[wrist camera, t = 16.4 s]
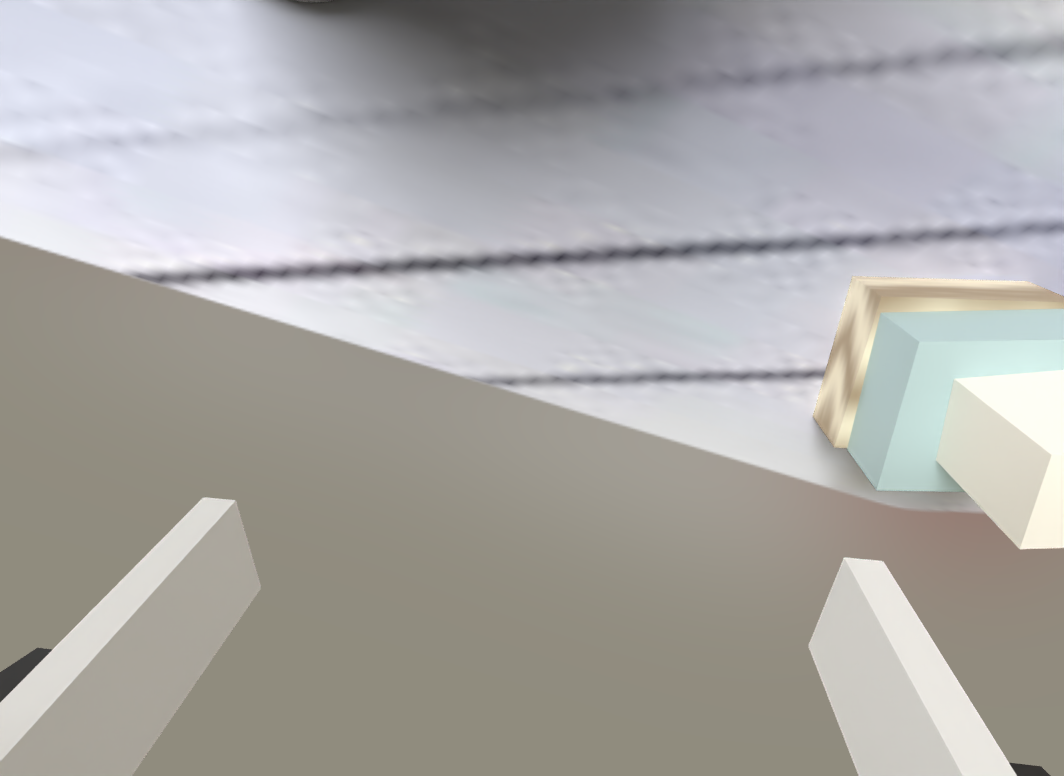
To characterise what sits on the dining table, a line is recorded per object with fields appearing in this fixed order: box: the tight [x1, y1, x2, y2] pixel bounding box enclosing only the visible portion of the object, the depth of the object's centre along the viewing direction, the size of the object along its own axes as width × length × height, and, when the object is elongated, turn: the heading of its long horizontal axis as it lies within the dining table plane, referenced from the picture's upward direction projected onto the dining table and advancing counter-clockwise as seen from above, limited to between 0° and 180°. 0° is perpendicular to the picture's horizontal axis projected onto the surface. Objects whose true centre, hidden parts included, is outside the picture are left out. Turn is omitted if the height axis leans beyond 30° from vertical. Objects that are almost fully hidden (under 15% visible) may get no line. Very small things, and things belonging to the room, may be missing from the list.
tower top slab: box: [847, 309, 1064, 492], centre depth 36 cm, size 11×11×5 cm
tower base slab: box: [813, 276, 1064, 448], centre depth 40 cm, size 12×12×5 cm
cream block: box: [936, 370, 1064, 549], centre depth 30 cm, size 6×6×8 cm
